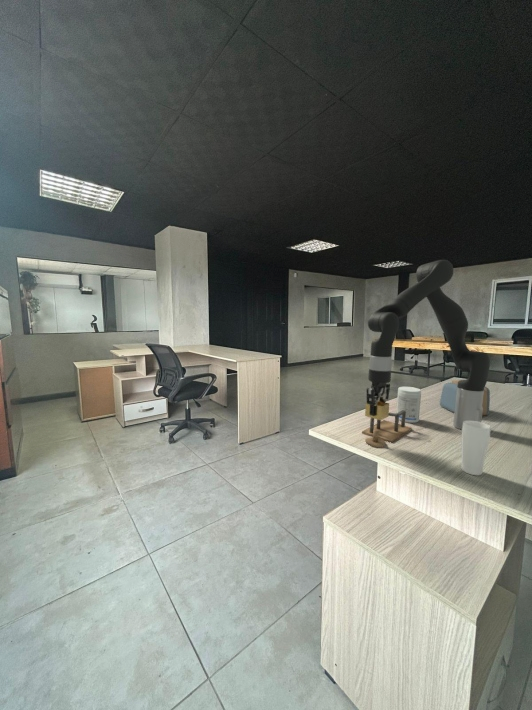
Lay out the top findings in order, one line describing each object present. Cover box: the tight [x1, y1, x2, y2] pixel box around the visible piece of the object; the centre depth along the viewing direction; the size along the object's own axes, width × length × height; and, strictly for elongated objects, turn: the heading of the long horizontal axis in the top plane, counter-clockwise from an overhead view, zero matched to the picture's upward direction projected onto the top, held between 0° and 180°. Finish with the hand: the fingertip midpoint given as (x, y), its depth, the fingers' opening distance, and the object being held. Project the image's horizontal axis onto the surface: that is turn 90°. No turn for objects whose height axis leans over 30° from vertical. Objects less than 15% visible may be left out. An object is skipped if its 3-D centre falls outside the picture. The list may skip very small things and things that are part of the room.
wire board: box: [361, 410, 413, 444], centre depth 116 cm, size 12×20×8 cm, turn 133°
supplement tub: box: [396, 386, 422, 424], centre depth 130 cm, size 10×10×15 cm
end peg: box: [365, 430, 387, 448], centre depth 105 cm, size 7×7×5 cm
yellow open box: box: [364, 400, 390, 421], centre depth 104 cm, size 6×6×5 cm
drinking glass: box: [460, 421, 492, 476], centre depth 85 cm, size 7×7×15 cm
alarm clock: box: [439, 379, 491, 416], centre depth 145 cm, size 16×16×16 cm
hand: (377, 413), depth 104 cm, fingers closed on yellow open box, 6 cm apart
